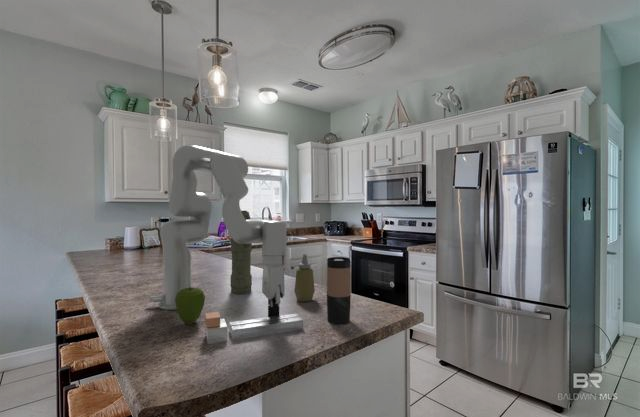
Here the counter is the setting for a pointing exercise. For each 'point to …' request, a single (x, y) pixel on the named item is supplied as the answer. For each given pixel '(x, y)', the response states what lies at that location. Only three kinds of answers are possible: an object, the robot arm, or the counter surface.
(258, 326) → the base
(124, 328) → the counter surface
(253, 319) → the arm
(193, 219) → the robot arm
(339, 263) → the travel mug
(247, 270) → the thermos
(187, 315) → the apple
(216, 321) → the block
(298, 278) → the squeeze bottle
